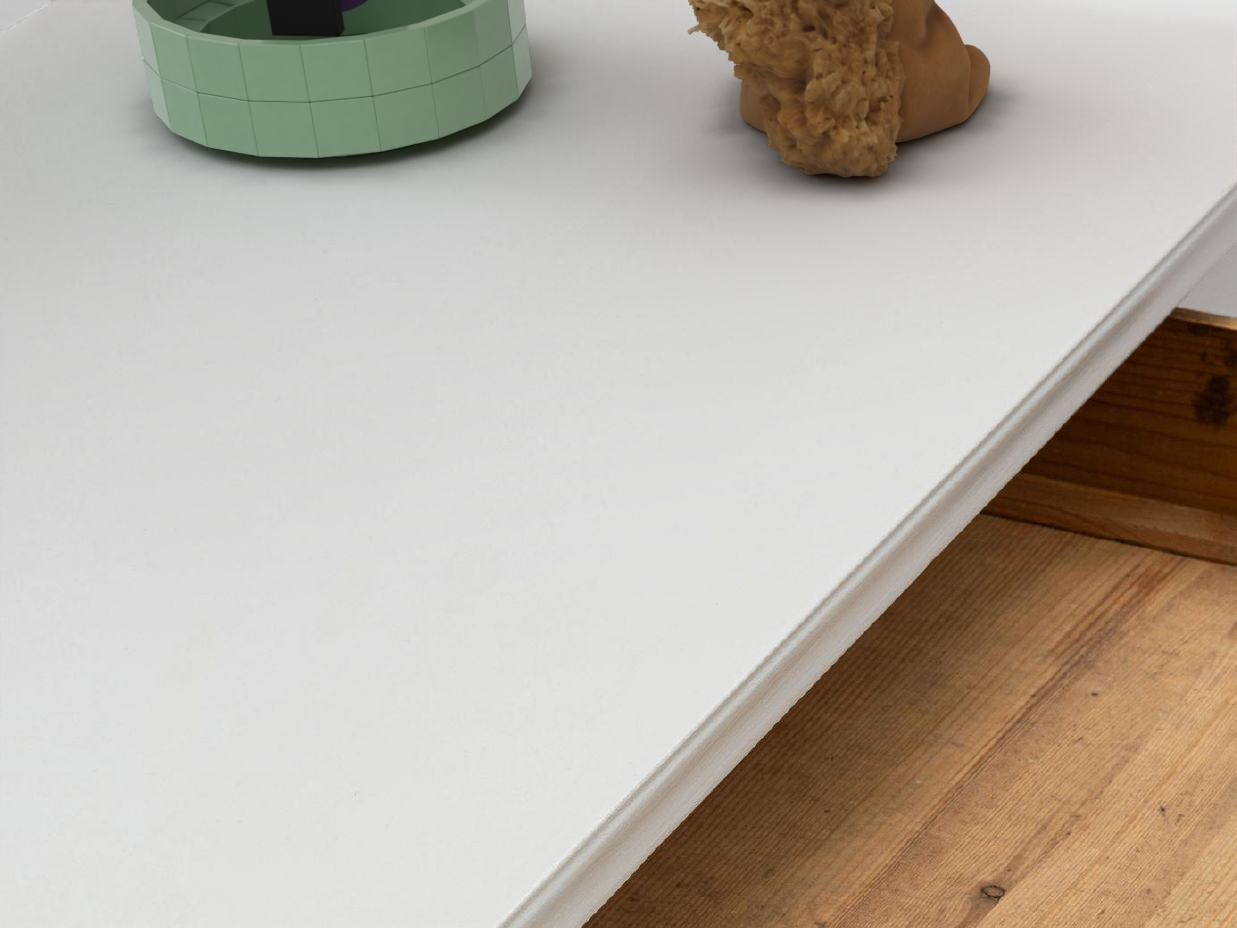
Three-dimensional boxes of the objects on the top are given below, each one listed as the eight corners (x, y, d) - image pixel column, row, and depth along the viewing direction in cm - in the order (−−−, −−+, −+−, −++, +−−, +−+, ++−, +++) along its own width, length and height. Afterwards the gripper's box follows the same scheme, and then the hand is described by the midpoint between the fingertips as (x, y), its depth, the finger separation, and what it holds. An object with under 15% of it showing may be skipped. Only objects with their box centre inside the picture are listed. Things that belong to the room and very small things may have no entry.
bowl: (103, 167, 101) (74, 41, 98) (226, 28, 113) (205, -88, 109) (482, 177, 99) (465, 48, 96) (567, 35, 111) (555, -84, 108)
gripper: (243, -623, 81) (357, 93, 96) (402, -705, 96) (480, -73, 110) (16, -620, 82) (163, 90, 96) (208, -702, 97) (311, -75, 111)
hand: (332, 1), depth 103 cm, fingers closed on ball, 6 cm apart
